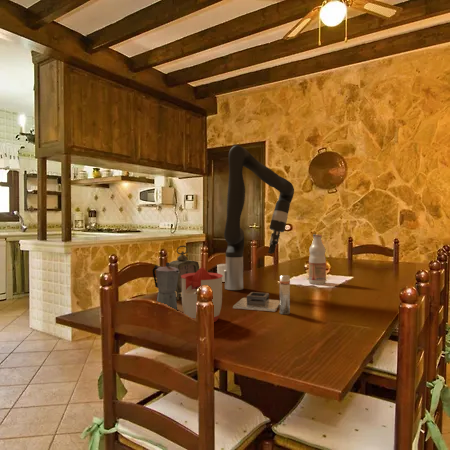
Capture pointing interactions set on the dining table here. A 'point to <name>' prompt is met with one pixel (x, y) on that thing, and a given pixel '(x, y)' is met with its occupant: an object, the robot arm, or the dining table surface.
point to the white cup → (221, 270)
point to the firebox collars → (257, 302)
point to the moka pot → (166, 284)
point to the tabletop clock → (183, 268)
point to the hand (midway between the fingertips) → (271, 253)
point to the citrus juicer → (193, 283)
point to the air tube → (284, 294)
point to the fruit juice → (317, 261)
